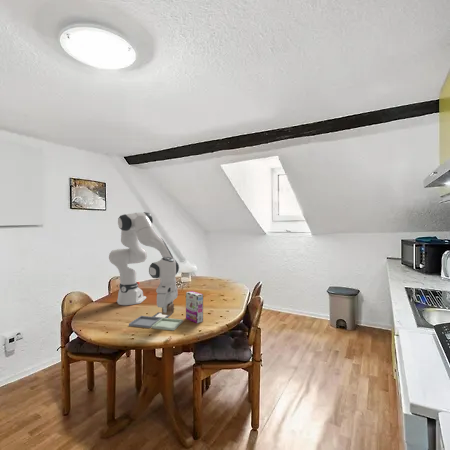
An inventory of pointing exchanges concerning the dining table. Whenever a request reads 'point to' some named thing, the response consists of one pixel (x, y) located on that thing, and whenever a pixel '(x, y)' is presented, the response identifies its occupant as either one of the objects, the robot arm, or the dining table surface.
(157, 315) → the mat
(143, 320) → the tray
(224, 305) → the dining table surface
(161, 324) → the tray
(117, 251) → the robot arm
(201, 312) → the candy bar box
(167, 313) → the letter cube
